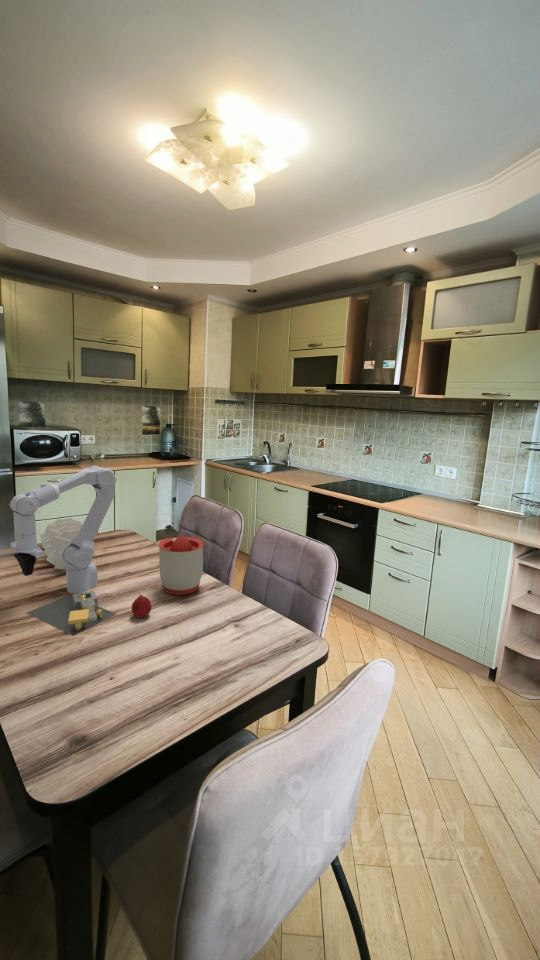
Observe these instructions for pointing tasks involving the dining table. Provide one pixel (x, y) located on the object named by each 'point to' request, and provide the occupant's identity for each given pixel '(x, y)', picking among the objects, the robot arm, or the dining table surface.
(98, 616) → the post
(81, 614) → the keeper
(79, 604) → the link
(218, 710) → the dining table surface
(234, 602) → the dining table surface
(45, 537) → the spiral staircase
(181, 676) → the dining table surface
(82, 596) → the cylinder
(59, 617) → the plate
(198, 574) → the citrus juicer
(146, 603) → the onion
